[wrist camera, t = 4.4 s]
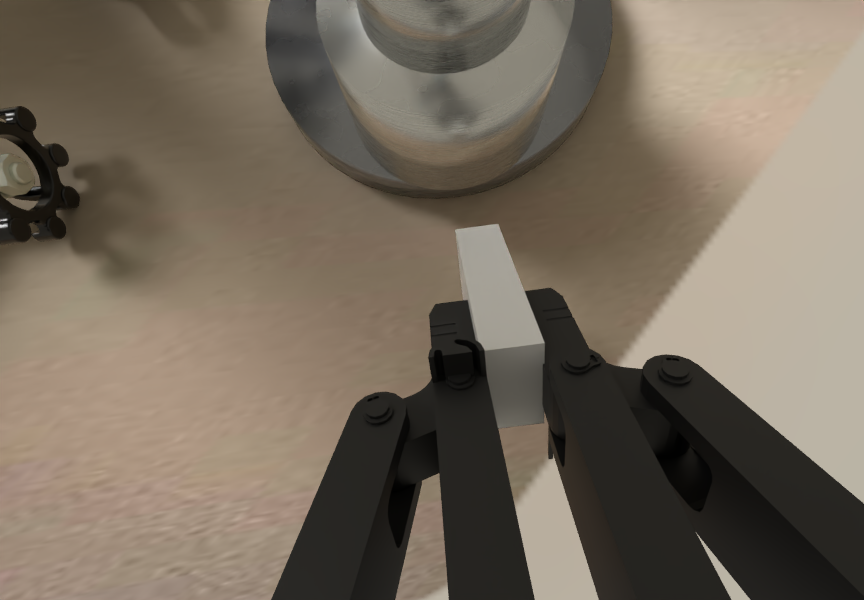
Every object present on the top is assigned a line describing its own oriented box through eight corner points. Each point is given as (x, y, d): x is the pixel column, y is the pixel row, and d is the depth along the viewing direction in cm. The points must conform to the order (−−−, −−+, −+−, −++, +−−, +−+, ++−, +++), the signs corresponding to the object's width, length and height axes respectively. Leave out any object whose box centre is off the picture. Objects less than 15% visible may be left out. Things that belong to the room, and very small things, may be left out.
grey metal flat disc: (291, 220, 24) (276, 204, 22) (271, -59, 27) (256, -95, 25) (630, 172, 23) (646, 152, 21) (568, -107, 27) (576, -146, 25)
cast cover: (362, 203, 22) (296, 73, 13) (345, 32, 23) (276, -185, 15) (559, 175, 21) (630, 22, 13) (526, 5, 23) (568, -234, 14)
